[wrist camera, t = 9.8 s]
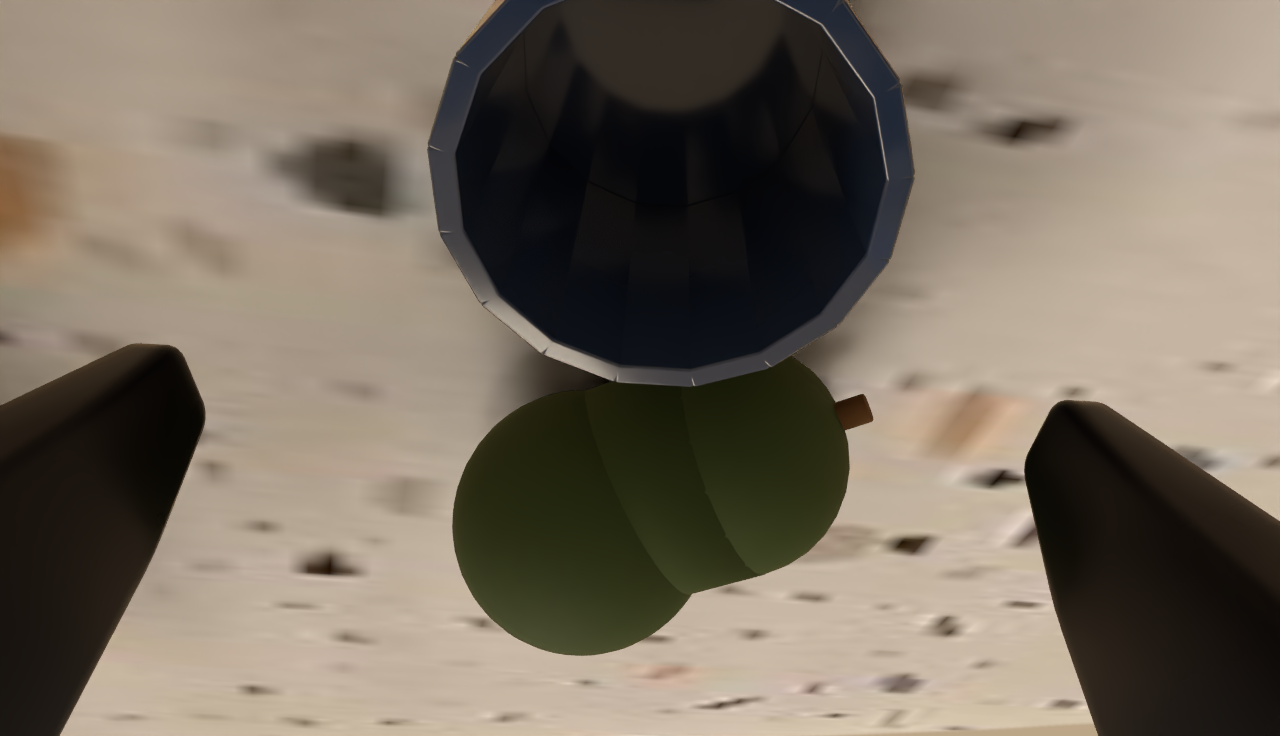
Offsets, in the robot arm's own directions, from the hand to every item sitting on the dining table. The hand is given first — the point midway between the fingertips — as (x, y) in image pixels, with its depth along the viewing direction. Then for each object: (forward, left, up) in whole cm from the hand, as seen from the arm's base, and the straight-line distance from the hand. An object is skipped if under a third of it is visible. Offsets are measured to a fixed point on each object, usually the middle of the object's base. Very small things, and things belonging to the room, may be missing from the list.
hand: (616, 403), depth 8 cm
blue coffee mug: (+1, +1, -11) cm, 11 cm away
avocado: (-2, -9, -10) cm, 14 cm away
